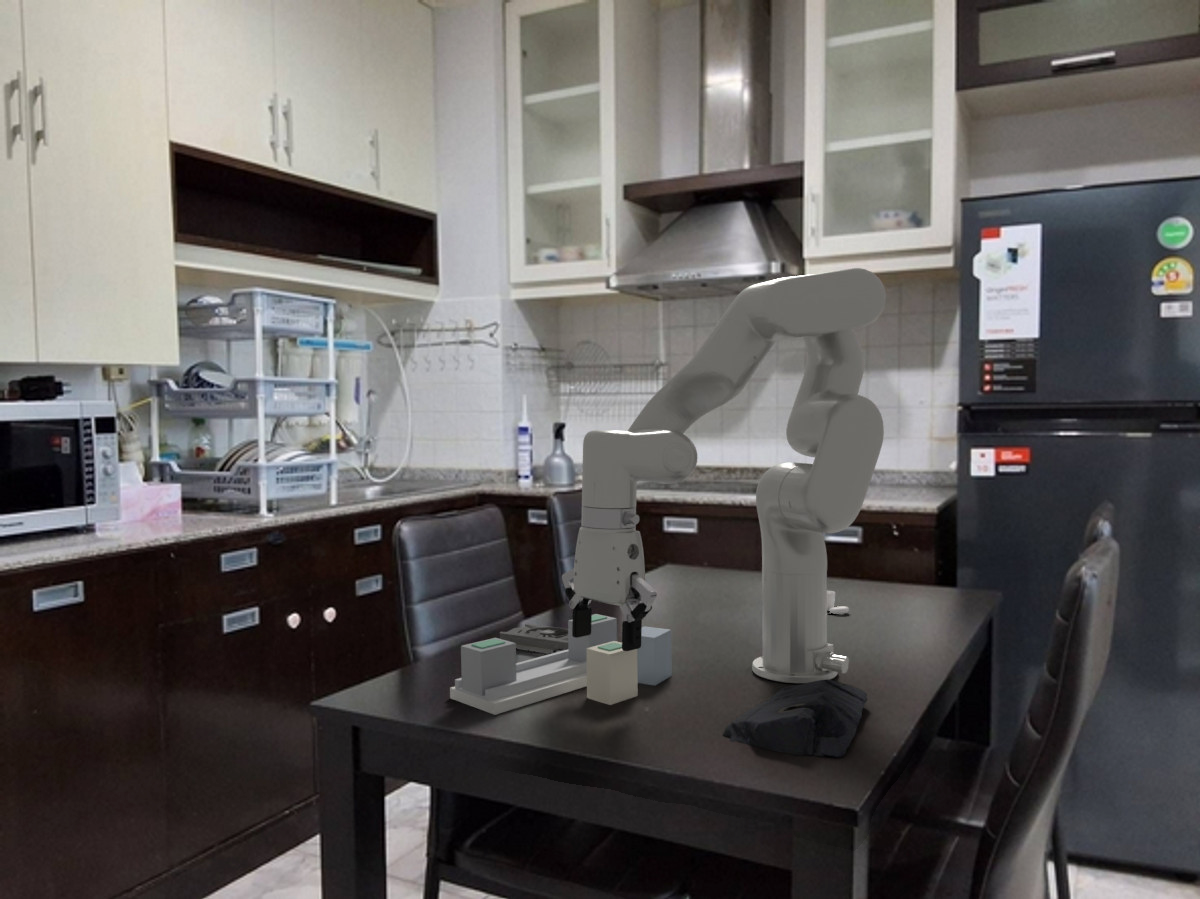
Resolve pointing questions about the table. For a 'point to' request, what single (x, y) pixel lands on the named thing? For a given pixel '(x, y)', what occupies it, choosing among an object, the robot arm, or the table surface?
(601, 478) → the robot arm
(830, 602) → the white rounded block
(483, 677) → the mounted module
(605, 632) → the mounted module
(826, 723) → the black folded cloth
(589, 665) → the block
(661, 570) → the table surface
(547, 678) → the rail base
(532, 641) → the graphics card
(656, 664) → the block
